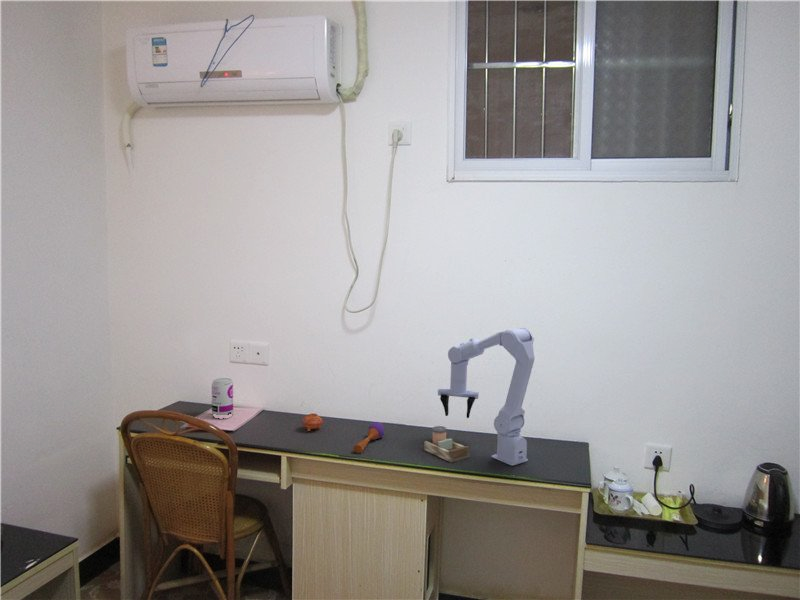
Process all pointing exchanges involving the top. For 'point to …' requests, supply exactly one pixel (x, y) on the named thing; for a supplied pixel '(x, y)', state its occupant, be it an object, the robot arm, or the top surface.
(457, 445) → the tray
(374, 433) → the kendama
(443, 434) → the jar
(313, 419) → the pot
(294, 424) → the top surface
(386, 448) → the top surface
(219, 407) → the supplement can
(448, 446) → the pusher
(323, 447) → the top surface
